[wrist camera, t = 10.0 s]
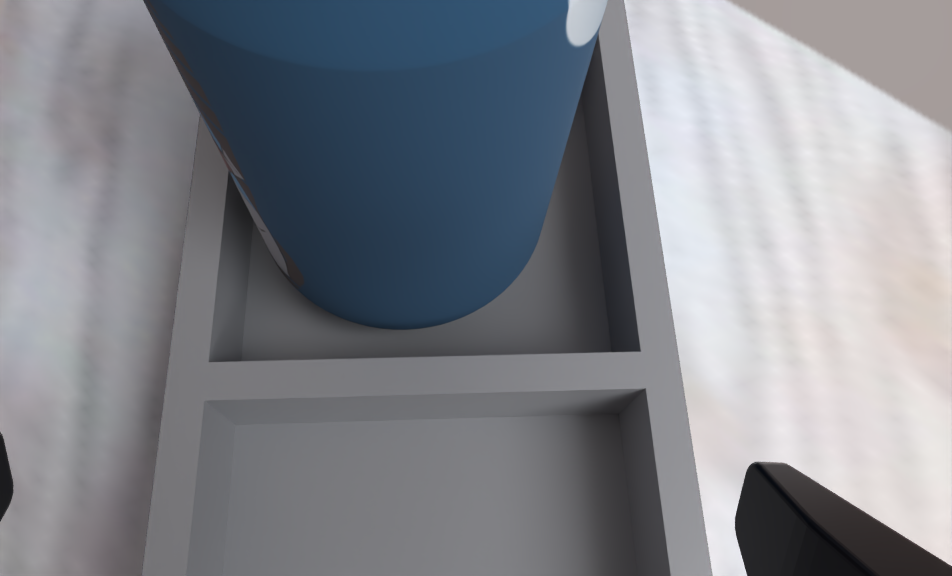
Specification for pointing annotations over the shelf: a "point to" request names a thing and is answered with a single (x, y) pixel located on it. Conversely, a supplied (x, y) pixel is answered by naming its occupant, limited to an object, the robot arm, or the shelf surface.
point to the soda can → (389, 138)
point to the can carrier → (438, 396)
